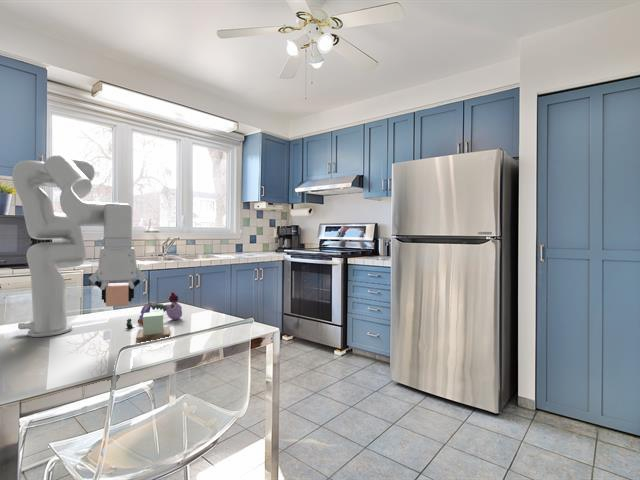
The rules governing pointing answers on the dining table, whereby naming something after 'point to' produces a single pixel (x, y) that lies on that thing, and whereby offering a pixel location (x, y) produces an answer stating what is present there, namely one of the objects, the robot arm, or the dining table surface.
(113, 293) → the terracotta cube
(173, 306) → the toy
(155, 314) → the sage cube
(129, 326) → the sculpture
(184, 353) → the dining table surface
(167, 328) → the board
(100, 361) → the dining table surface
